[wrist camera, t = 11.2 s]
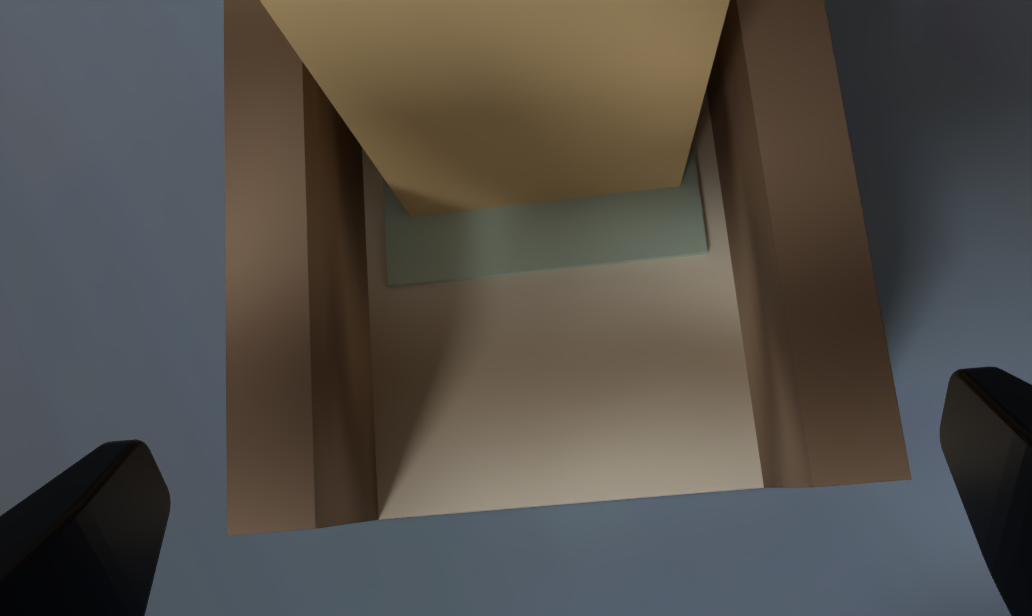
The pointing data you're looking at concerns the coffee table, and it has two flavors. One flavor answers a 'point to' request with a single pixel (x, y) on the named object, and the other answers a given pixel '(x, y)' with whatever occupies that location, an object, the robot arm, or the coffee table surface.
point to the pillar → (511, 92)
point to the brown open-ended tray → (550, 308)
